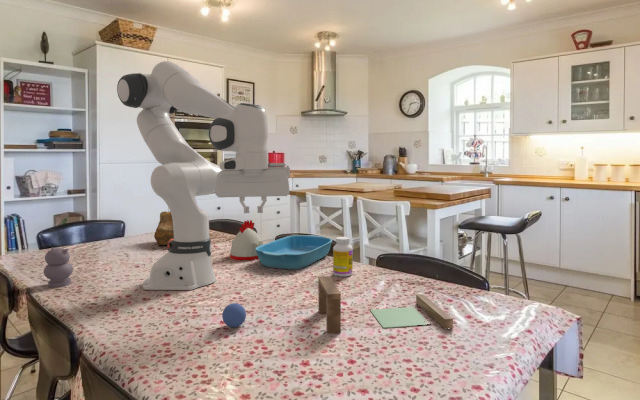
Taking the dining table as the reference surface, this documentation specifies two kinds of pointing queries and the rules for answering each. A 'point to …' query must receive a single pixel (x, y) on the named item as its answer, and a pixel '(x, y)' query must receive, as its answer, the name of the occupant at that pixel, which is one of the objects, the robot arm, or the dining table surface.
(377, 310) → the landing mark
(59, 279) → the cat figurine
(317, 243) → the casserole dish
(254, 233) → the kitchen timer
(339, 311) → the bridge
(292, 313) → the dining table surface
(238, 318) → the ball
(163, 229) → the rough brown rock
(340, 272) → the supplement bottle
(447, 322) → the stopper wall
